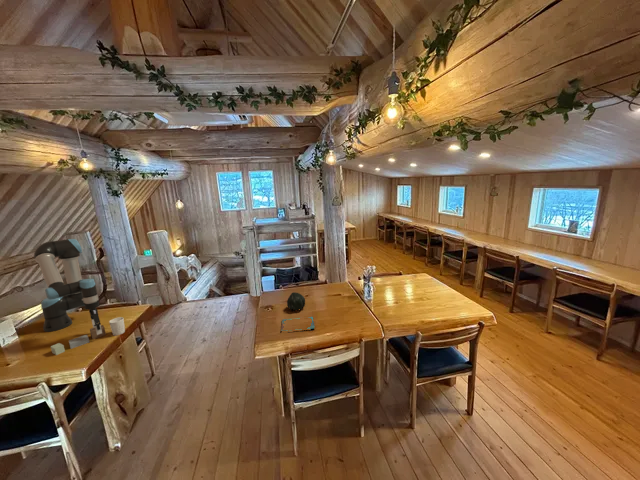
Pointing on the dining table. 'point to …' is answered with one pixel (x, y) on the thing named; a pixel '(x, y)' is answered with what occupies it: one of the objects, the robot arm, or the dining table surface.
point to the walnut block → (94, 334)
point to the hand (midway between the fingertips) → (97, 330)
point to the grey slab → (78, 341)
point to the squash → (296, 301)
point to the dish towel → (297, 329)
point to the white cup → (117, 325)
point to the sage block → (57, 349)
